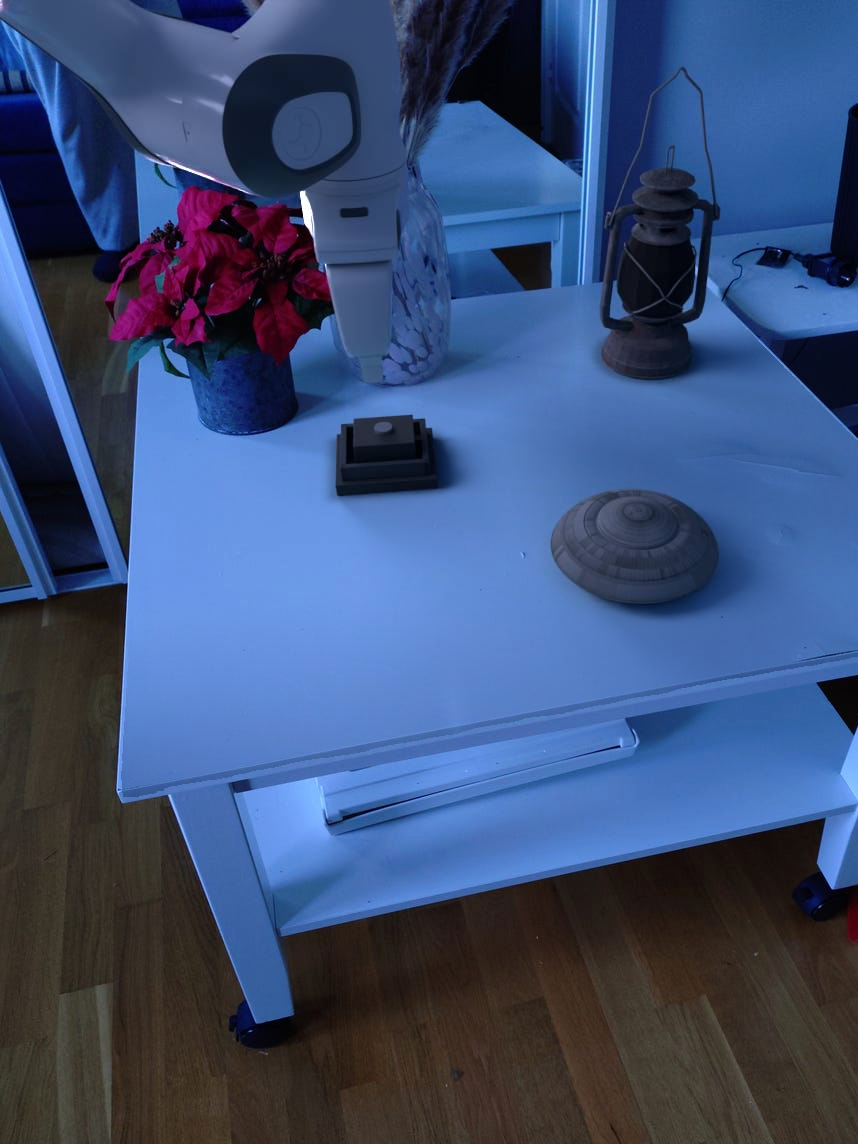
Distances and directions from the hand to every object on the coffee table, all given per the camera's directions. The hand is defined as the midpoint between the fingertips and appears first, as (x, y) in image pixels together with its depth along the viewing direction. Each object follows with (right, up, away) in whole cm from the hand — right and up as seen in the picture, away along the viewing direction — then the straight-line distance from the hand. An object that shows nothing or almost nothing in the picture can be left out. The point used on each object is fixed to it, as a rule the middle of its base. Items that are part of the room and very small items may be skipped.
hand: (372, 352), depth 86 cm
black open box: (0, -9, +9) cm, 13 cm away
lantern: (+30, +7, +23) cm, 38 cm away
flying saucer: (+24, -19, -1) cm, 31 cm away
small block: (0, -8, +8) cm, 11 cm away
